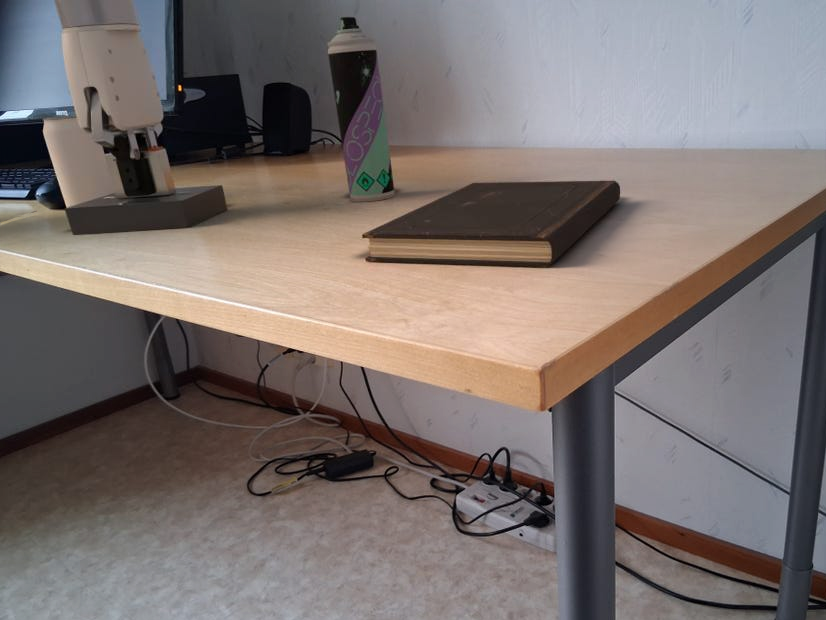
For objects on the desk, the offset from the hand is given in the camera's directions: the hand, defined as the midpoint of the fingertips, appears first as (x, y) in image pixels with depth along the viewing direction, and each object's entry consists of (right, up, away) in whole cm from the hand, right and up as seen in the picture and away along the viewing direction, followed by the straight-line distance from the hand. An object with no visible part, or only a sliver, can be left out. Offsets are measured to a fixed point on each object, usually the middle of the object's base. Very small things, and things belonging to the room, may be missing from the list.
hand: (145, 192), depth 81 cm
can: (-15, +2, +16) cm, 22 cm away
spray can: (+26, 0, +5) cm, 26 cm away
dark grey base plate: (0, -3, +1) cm, 3 cm away
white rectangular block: (0, 0, 0) cm, 0 cm away
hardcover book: (+41, -8, -18) cm, 46 cm away
